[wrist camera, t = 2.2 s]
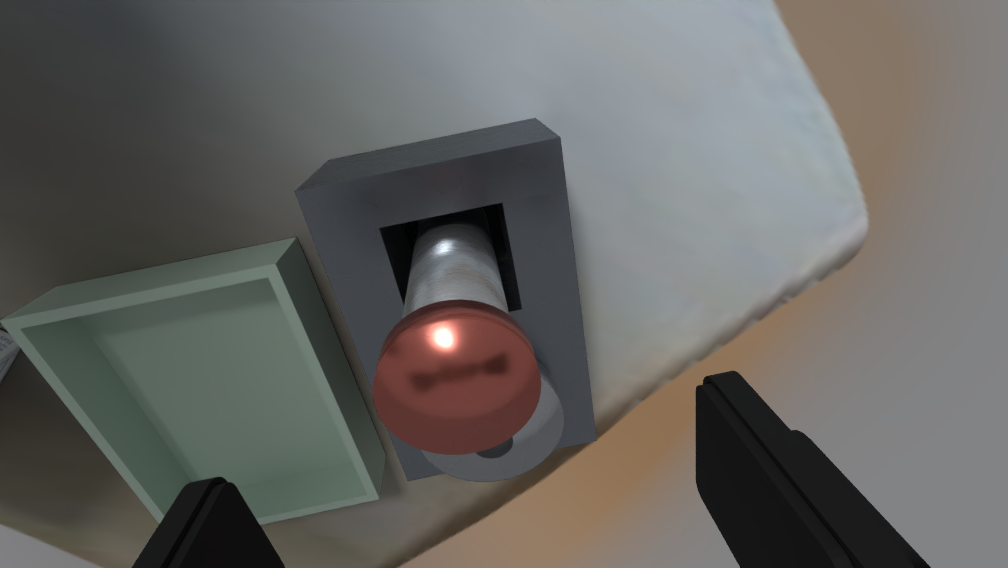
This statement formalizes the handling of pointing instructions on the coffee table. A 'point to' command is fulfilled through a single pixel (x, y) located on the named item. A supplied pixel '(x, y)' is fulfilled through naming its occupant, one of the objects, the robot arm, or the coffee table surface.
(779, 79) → the coffee table surface
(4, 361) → the medicine box
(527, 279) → the block
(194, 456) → the tray
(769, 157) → the coffee table surface
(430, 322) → the pin
